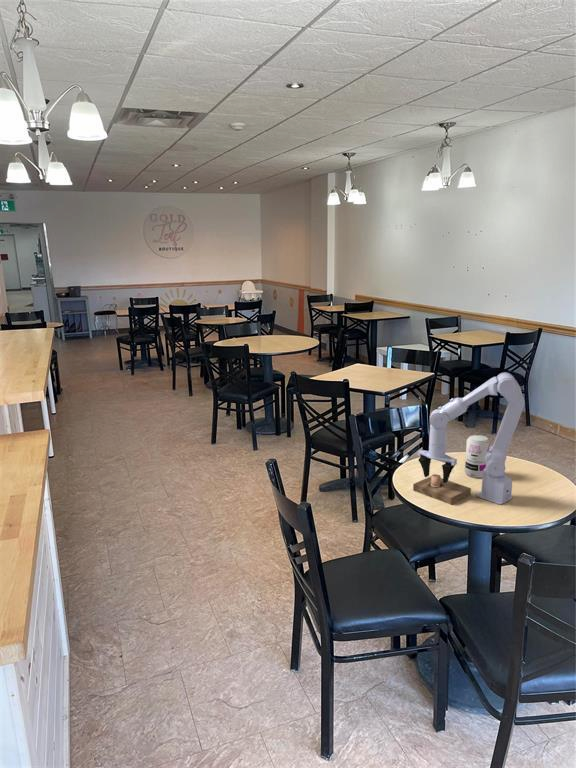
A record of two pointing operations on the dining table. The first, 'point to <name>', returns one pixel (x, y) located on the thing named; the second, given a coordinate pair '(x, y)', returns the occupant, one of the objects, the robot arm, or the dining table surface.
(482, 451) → the supplement can
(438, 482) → the peg
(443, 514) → the dining table surface
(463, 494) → the board
